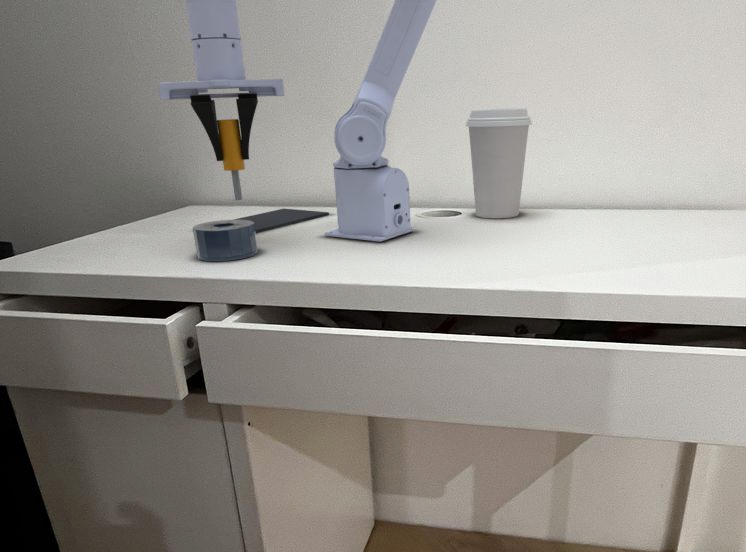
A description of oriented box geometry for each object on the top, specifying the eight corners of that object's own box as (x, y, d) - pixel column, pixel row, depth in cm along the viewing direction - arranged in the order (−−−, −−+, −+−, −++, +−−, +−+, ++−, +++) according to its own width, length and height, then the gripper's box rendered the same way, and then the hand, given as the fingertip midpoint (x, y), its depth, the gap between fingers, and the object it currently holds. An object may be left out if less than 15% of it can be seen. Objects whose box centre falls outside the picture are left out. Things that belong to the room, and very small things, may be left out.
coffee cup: (509, 222, 89) (511, 109, 83) (453, 217, 94) (452, 111, 88) (540, 212, 96) (544, 107, 90) (486, 207, 101) (487, 109, 95)
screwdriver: (253, 198, 81) (242, 119, 77) (238, 201, 79) (226, 119, 75) (239, 197, 82) (228, 119, 79) (224, 200, 80) (212, 120, 77)
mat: (329, 214, 100) (328, 212, 100) (244, 235, 86) (243, 233, 86) (283, 210, 105) (283, 208, 105) (196, 230, 91) (196, 227, 91)
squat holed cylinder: (269, 251, 76) (266, 221, 75) (225, 264, 71) (220, 232, 70) (230, 246, 80) (226, 218, 79) (185, 257, 75) (180, 227, 73)
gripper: (145, 38, 69) (168, 165, 74) (279, 36, 72) (292, 159, 77) (156, 44, 75) (176, 160, 80) (278, 42, 78) (290, 154, 83)
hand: (233, 159), depth 79 cm, fingers closed on screwdriver, 2 cm apart
